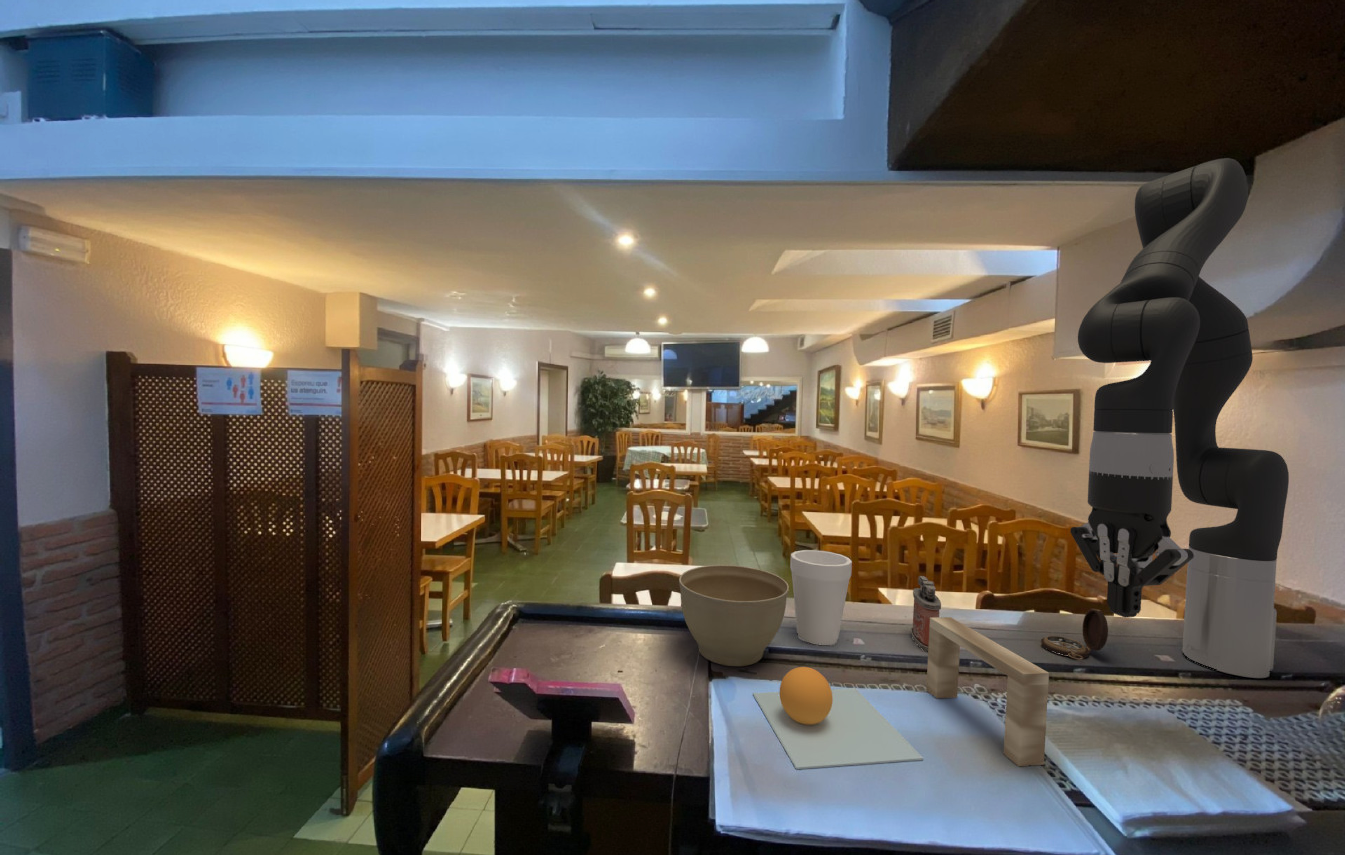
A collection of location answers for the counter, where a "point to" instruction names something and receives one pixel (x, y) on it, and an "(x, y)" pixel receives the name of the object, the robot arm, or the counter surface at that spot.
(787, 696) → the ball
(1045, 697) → the bridge
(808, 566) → the foam cup
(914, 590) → the lighter
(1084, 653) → the compass
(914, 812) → the counter surface
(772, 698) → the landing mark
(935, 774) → the counter surface
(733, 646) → the planter bowl
